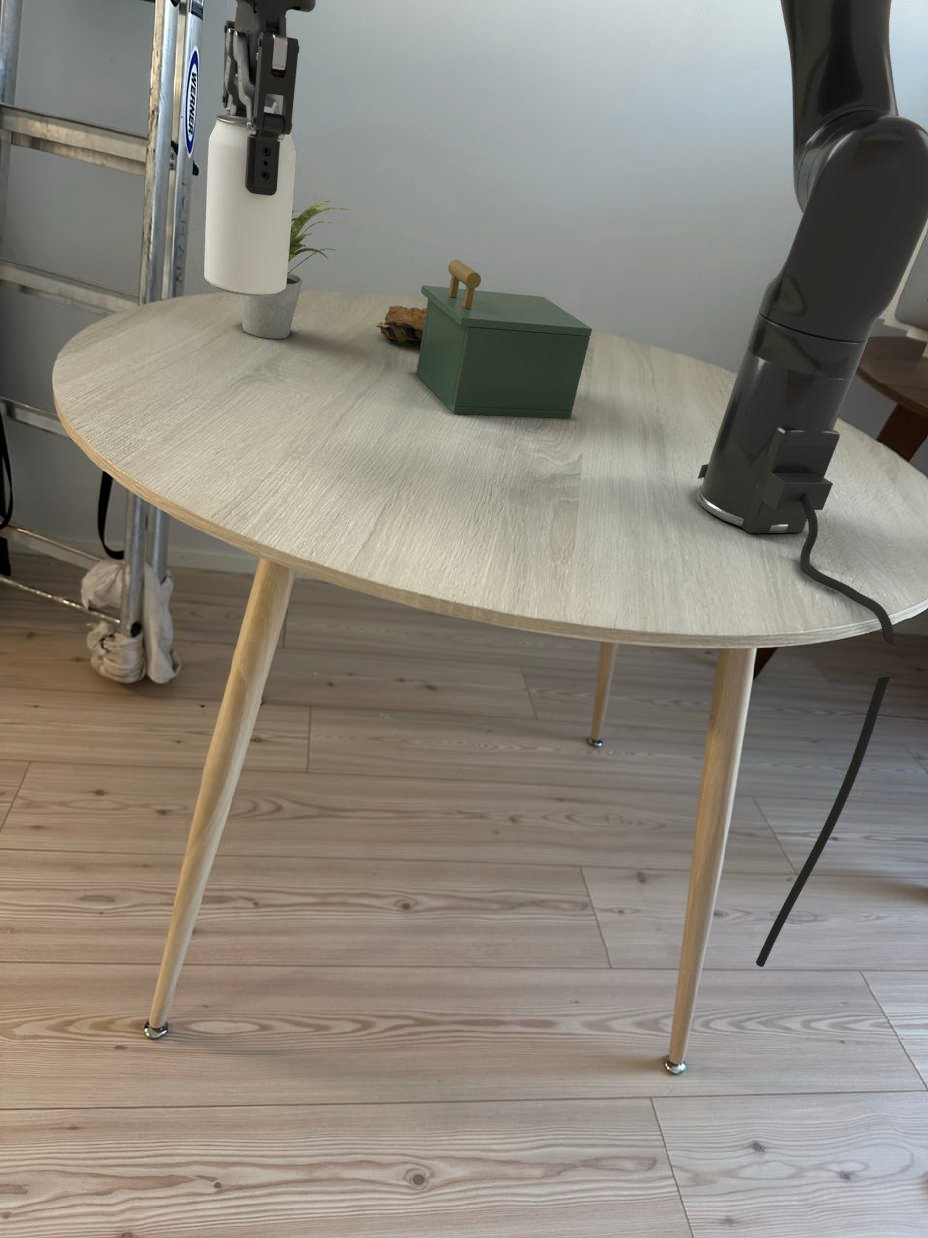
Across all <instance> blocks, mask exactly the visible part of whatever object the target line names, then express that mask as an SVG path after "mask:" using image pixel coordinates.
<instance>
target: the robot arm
mask: <svg viewBox="0 0 928 1238" xmlns="http://www.w3.org/2000/svg"><path fill="white" fill-rule="evenodd" d="M779 1H780V6H781V11H782V13H781V14H782V18H783V23H784V28H785V33H786V38H787V45H788V51H789V60H790V61H789V62H790V72H791V91H792V92H791V94H792V95H791V96H792V97H791V101H792V175H793V176H792V178H793V190H794V195H795V199H796V202H797V205H798V207H799V209H800V211H801V213H802V217H801V219H800V220H799V221H800V222H799V224H798V228H797V229H796V233H795V235H794V238H793V242H792V244H791V246H790V249H789V252H788V255H787V257H786V260H785V261H784V263H783V265H782V267H781V268H780V270H779V271H778V273H777V274H776V275H775V276H773V277H772V278H770V280H769V281H768V283H767V285H766V287H765V289H764V292H763V296H762V298H761V302H760V305H759V308H758V312H757V314H756V317H755V319H754V323H753V327H752V330H751V332H750V334H749V339H748V342H747V344H746V347H745V350H744V353H743V355H742V360H741V362H740V366H739V368H738V372H737V374H736V377H735V381H734V384H733V388H732V390H731V393H730V396H729V399H728V401H727V404H726V407H725V410H724V413H723V417H722V420H721V423H720V426H719V430H718V432H717V436H716V438H715V442H714V445H713V447H712V451H711V453H710V457H709V461H708V463H707V464H706V463H705V464H701V467H700V469H699V474H698V476H697V479H699V480H700V479H702V481H701V484H700V486H699V487H698V490H697V494H696V500H697V502H698V503H699V505H700V506H701V507H702V508H704V510H706V511H707V512H709V513H710V514H712V515H713V516H715V517H717V518H718V519H720V520H722V521H724V522H727V523H730V524H732V525H734V526H737V527H740V528H742V529H743V530H744V531H746V532H747V533H750V534H776V533H777V534H782V533H784V534H785V533H787V534H788V533H803V532H804V529H805V527H806V524H807V523H808V525H807V526H808V531H807V536H806V540H805V541H804V543H803V546H802V548H801V551H800V558H799V559H800V561H799V565H800V569H801V570H802V571H803V572H804V573H805V574H806V575H807V576H808V577H809V578H810V579H812V580H814V581H815V582H817V583H819V584H821V585H823V586H825V587H828V588H830V589H832V590H834V591H837V592H839V593H840V594H842V595H844V596H845V597H847V598H849V599H850V600H852V601H853V602H855V603H857V604H859V605H860V606H862V607H864V608H866V609H867V610H869V611H871V612H872V614H874V615H875V617H877V620H878V622H879V624H880V628H881V630H882V631H881V632H882V635H883V640H884V641H885V642H886V643H887V644H889V645H893V646H895V645H896V636H895V635H896V634H895V631H894V626H893V623H892V620H891V618H890V616H889V614H888V613H887V611H886V609H885V608H884V607H883V606H882V605H881V604H880V603H879V602H877V601H876V600H874V599H872V598H871V597H868V596H867V595H865V594H863V593H861V592H859V591H858V590H856V589H854V588H853V587H851V586H850V585H848V584H846V583H844V582H842V581H841V580H838V579H835V578H834V577H831V576H828V575H826V574H824V573H823V572H821V571H819V570H818V569H817V568H816V567H814V566H813V565H812V564H811V562H810V561H811V553H812V550H813V548H814V545H815V543H816V540H817V538H818V532H819V522H818V517H817V516H818V515H817V513H816V511H823V510H824V507H825V505H826V502H827V500H828V497H829V495H830V492H831V490H832V487H833V484H834V483H833V482H832V481H830V480H829V479H827V478H825V476H826V474H827V471H828V468H829V466H830V463H831V461H832V458H833V456H834V453H835V451H836V449H837V446H838V443H839V440H840V438H841V435H840V432H839V431H837V430H836V429H835V426H836V423H837V421H838V418H839V416H840V413H841V410H842V408H843V405H844V403H845V400H846V397H847V396H848V392H849V390H850V387H851V384H852V383H853V379H854V377H855V375H856V372H857V370H858V367H859V364H860V362H861V359H862V357H863V354H864V351H865V350H866V349H865V348H866V346H867V344H868V340H869V338H870V337H871V333H872V331H873V329H874V326H876V325H875V324H876V323H877V321H878V320H879V319H880V317H881V316H882V315H883V314H884V313H885V311H886V310H887V309H888V307H889V306H890V304H892V301H893V299H894V298H895V296H896V294H897V292H898V289H899V288H900V285H901V282H902V280H903V278H904V276H905V274H906V271H907V269H908V267H909V264H910V263H911V260H912V257H913V255H914V253H915V251H916V248H917V246H918V244H919V242H920V240H921V236H922V235H923V232H924V230H925V228H926V224H927V222H928V130H926V129H925V128H924V127H923V126H921V125H920V124H918V123H917V122H915V121H913V120H911V119H909V118H906V117H903V116H900V113H899V108H898V103H897V98H896V91H895V83H894V76H893V75H894V74H893V66H892V57H891V47H890V18H891V8H892V1H893V0H779ZM235 2H236V5H237V6H236V9H235V16H234V17H235V18H234V21H233V20H227V19H226V20H225V22H224V23H225V24H224V25H223V33H224V48H223V49H224V50H223V51H224V53H223V88H222V89H223V90H222V95H221V102H222V104H223V109H225V115H231V116H240V117H247V124H246V129H247V130H248V139H247V158H246V177H245V187H246V189H247V190H248V191H249V192H250V193H252V194H260V195H269V196H272V195H274V194H275V193H276V191H277V180H278V165H279V151H280V141H278V140H283V139H284V135H285V134H286V135H289V134H290V131H291V129H292V130H293V113H294V112H293V111H294V100H295V90H296V81H297V80H296V79H297V68H298V58H299V53H300V45H299V40H298V38H295V37H288V35H287V34H288V33H287V12H288V11H291V10H293V11H298V12H302V13H311V12H312V11H313V10H314V9H315V7H316V4H317V0H235ZM236 75H237V76H236ZM265 108H271V110H272V112H267V111H265ZM291 132H292V131H291ZM250 136H254V137H250ZM890 679H891V676H882V677H878V678H877V681H876V684H875V687H874V690H873V692H872V696H871V698H870V702H869V706H868V709H867V712H866V715H865V719H864V722H863V726H862V728H861V731H860V734H859V737H858V741H857V742H856V743H857V744H856V746H855V749H854V752H853V755H852V758H851V761H850V764H849V765H848V768H847V771H846V774H845V776H844V779H843V781H842V784H841V787H840V788H839V791H838V794H837V796H836V798H835V801H834V803H833V805H832V807H831V810H830V812H829V814H828V816H827V818H826V820H825V821H824V822H825V823H824V824H823V827H822V829H821V831H820V833H819V835H818V836H817V839H816V841H815V843H814V845H813V847H812V849H811V851H810V853H809V855H808V856H807V859H806V861H805V862H804V864H803V866H802V868H801V870H800V872H799V873H798V876H797V878H796V880H795V881H794V883H793V886H792V888H791V890H790V891H789V893H788V895H787V897H786V899H785V900H784V903H783V904H782V906H781V908H780V911H779V912H778V915H777V916H776V918H775V920H774V922H773V924H772V927H771V928H770V931H769V932H768V935H767V937H766V939H765V941H764V943H763V946H762V947H761V950H760V952H759V954H758V956H757V959H756V961H755V965H756V966H758V967H760V968H763V967H765V964H766V962H767V961H768V958H769V956H770V953H771V952H772V949H773V947H774V945H775V943H776V941H777V939H778V937H779V935H780V933H781V931H782V929H783V927H784V925H785V923H786V921H787V919H788V917H789V915H790V914H791V912H792V909H793V907H794V905H795V904H796V902H797V900H798V899H799V896H800V894H801V892H802V890H803V889H804V887H805V884H806V883H807V881H808V879H809V878H810V875H811V874H812V871H813V870H814V868H815V866H816V864H817V862H818V860H819V859H820V857H821V855H822V853H823V851H824V849H825V847H826V845H827V843H828V841H829V839H830V837H831V835H832V833H833V831H834V828H835V826H836V824H837V823H838V820H839V818H840V816H841V814H842V812H843V809H844V807H845V806H846V803H847V800H848V798H849V795H850V793H851V792H852V789H853V787H854V785H855V782H856V779H857V775H858V773H859V771H860V768H861V765H862V763H863V761H864V759H865V755H866V752H867V749H868V747H869V743H870V741H871V737H872V734H873V732H874V728H875V725H876V722H877V719H878V716H879V713H880V710H881V706H882V702H883V699H884V696H885V693H886V690H887V688H888V684H889V682H890Z"/></svg>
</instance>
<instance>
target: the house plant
mask: <svg viewBox="0 0 928 1238" xmlns="http://www.w3.org/2000/svg"><path fill="white" fill-rule="evenodd" d="M329 202H330V203H331V200H323V201H318V202H316V203H313V204H312V205H310V206H308V208H306V209H305V210H304V211H303V212H302V213H300V215H298V217H294V218H293V217H292V219H291V223H292V222H293V223H292V224H291V233H290V246H289V259H288V264H289V263H290V261H291V260H293V259H294V258H295V257H296V256H298V255H299V254H301V253H304V252H305V253H306V252H313V253H311V254H310V255H308V257H306V258H304V260H302V261H301V262H299V263H298V264H296V265H295V266H294V267H292V269H291V270H290V271H287V282H286V288H285V289H284V290H282V292H281V293H280V294H278V295H275V296H267V297H256V296H245V295H239V301H240V313H241V322H242V324H241V325H242V330H243V331H244V332H246V333H248V334H249V335H252V336H255V337H259V338H263V339H264V338H265V339H285V338H288V337H289V335H290V332H291V328H292V324H293V319H294V317H295V312H296V308H297V304H298V301H299V297H300V293H301V288H302V285H303V279H302V278H301V277H300V276H298V275H296V274H294V273H291V272H292V271H293V270H295V269H296V268H297V267H298V266H299V265H301V264H302V263H303V262H305V261H307V260H308V259H309V258H310V257H312V256H313V255H316V254H317V253H318V254H321V255H322V256H323V257H325V258H326V259H328V256H327V255H326V254H324V253H323V252H322V251H335V249H333V248H322V249H319V250H318V249H317V248H312V247H311V248H310V247H307V246H306V244H302V243H301V242H302V241H303V240H304V239H305V238H306V237H308V236H312V233H306V232H307V230H309V229H310V228H311V227H313V226H315V225H318V224H322V223H323V224H325V223H326V224H332V222H330V221H326V220H318V221H316V222H314V223H312V224H310V225H308V227H306V229H305V230H304V231H303V232H302V233H301V234H300V235H299V233H300V232H301V230H302V229H303V227H304V226H305V225H306V224H307V223H308V221H310V220H311V219H312V218H313V217H315V216H317V215H318V214H320V213H323V212H325V211H329V210H339V211H340V210H345V211H347V210H348V209H347V208H342V207H326V208H321V209H319V208H320V207H321V206H322V205H325V204H328V203H329ZM294 212H297V213H298V212H299V210H297V209H294V210H293V209H292V215H294ZM298 235H299V236H298ZM303 247H304V248H303Z"/></svg>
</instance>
